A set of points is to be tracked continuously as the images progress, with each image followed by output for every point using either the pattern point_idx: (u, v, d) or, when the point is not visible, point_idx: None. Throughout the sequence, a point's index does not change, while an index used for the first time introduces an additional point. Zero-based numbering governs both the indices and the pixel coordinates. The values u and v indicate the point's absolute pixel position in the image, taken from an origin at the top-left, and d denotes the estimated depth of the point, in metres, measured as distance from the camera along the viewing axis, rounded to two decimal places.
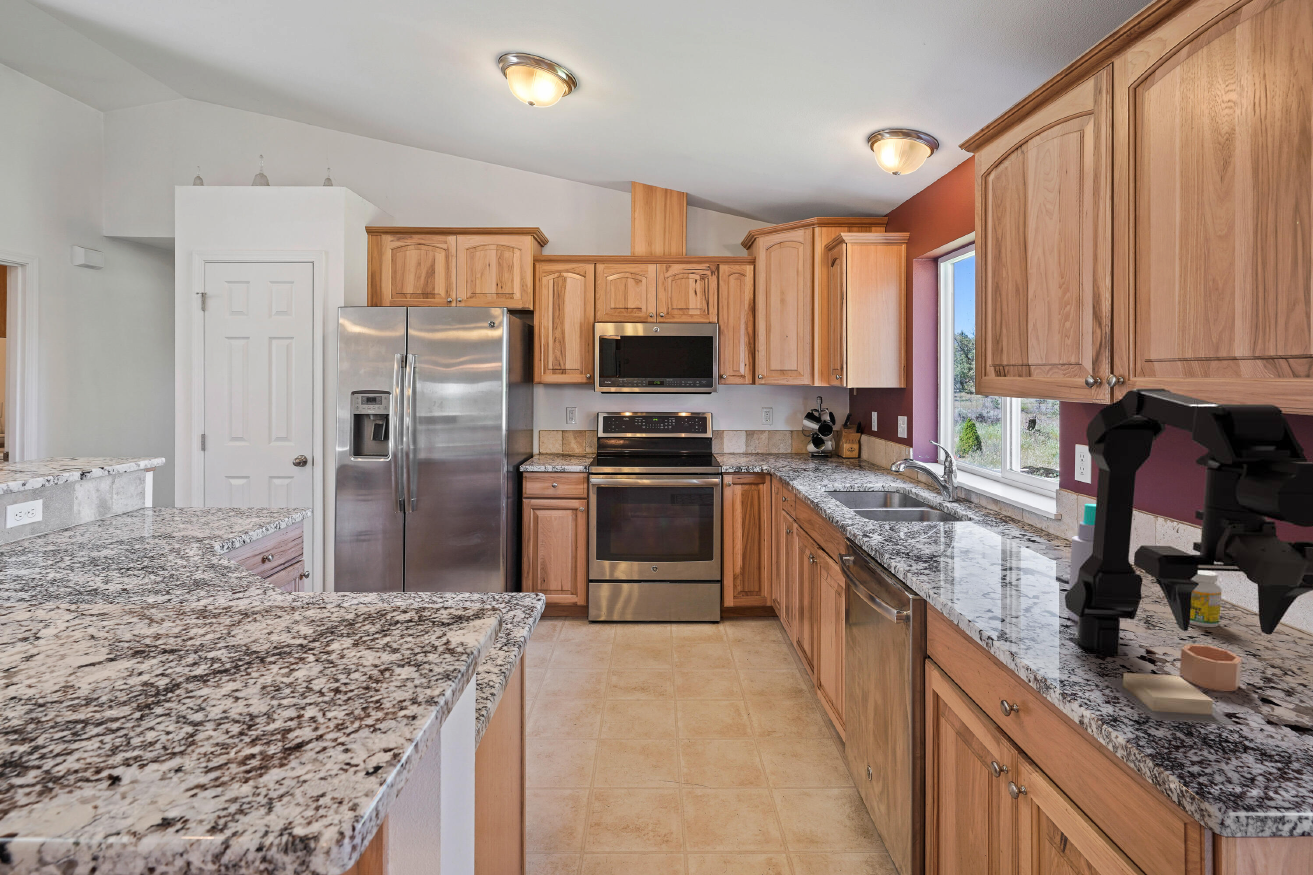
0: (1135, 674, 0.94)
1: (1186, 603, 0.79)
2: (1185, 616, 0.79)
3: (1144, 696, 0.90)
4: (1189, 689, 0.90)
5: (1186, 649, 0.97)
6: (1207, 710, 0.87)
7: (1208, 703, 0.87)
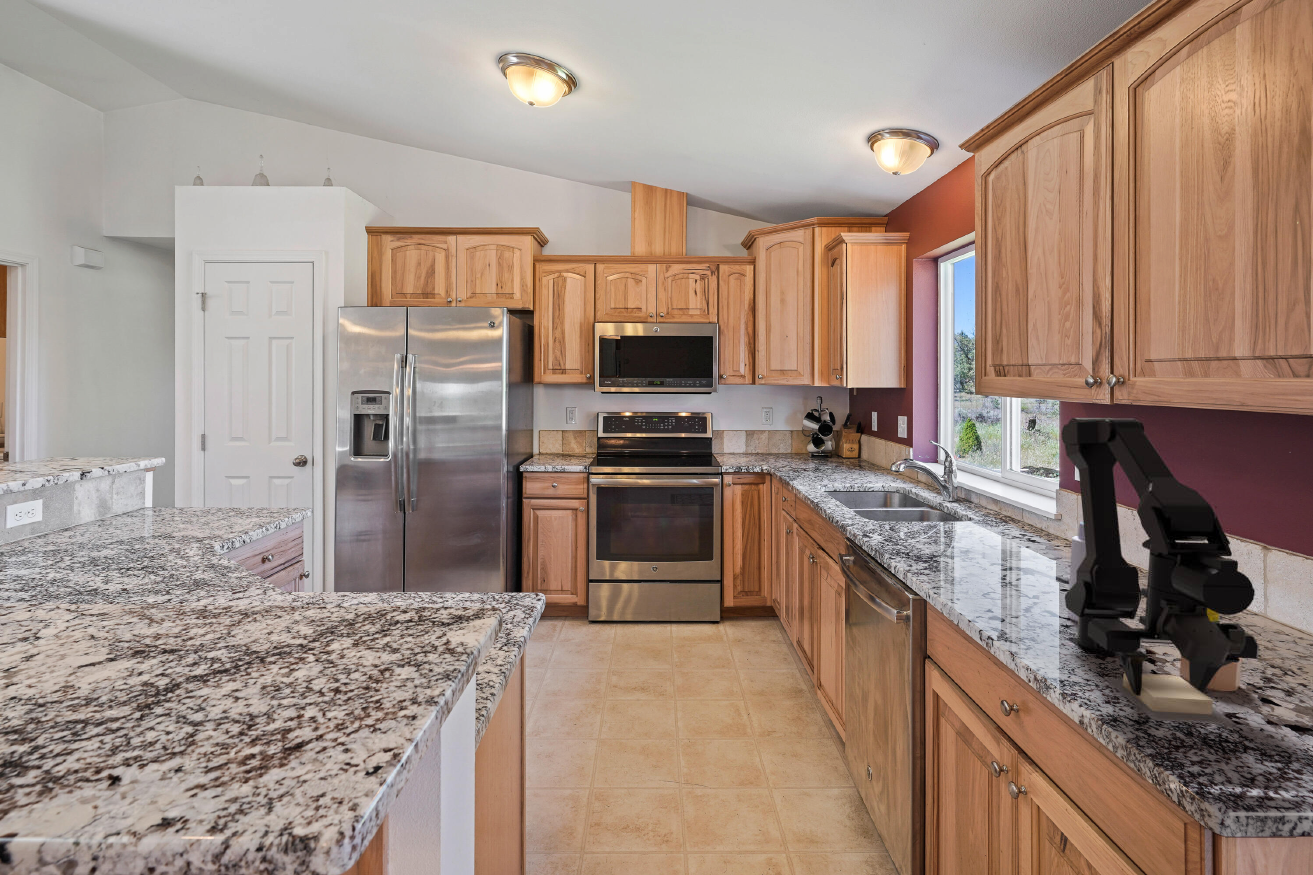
0: None
1: (1138, 672, 0.90)
2: (1137, 683, 0.90)
3: (1144, 696, 0.90)
4: (1189, 689, 0.90)
5: None
6: (1207, 710, 0.87)
7: (1208, 703, 0.87)
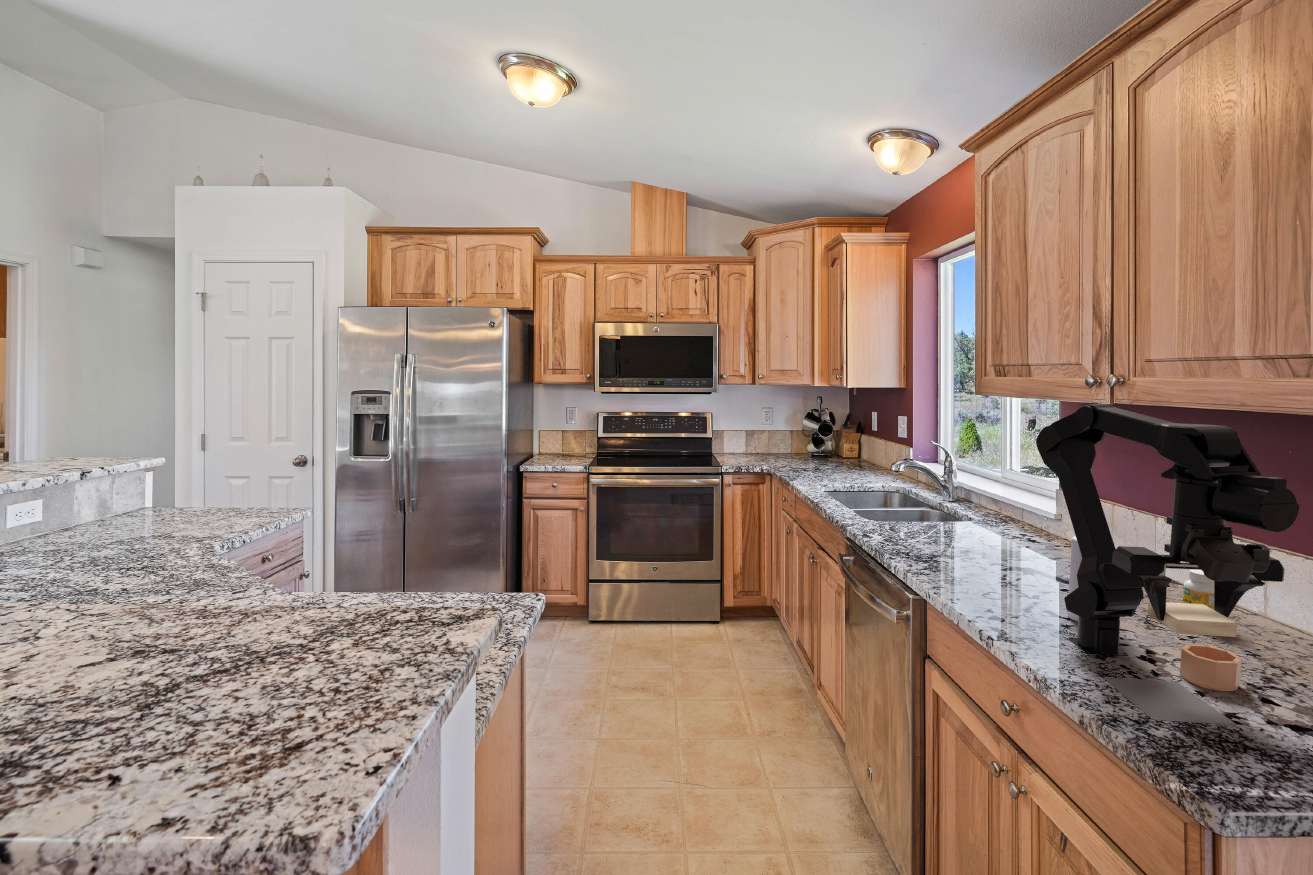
0: None
1: (1162, 596, 0.91)
2: (1161, 608, 0.92)
3: (1168, 620, 0.91)
4: (1213, 614, 0.91)
5: (1186, 649, 0.97)
6: (1231, 633, 0.88)
7: (1232, 626, 0.88)
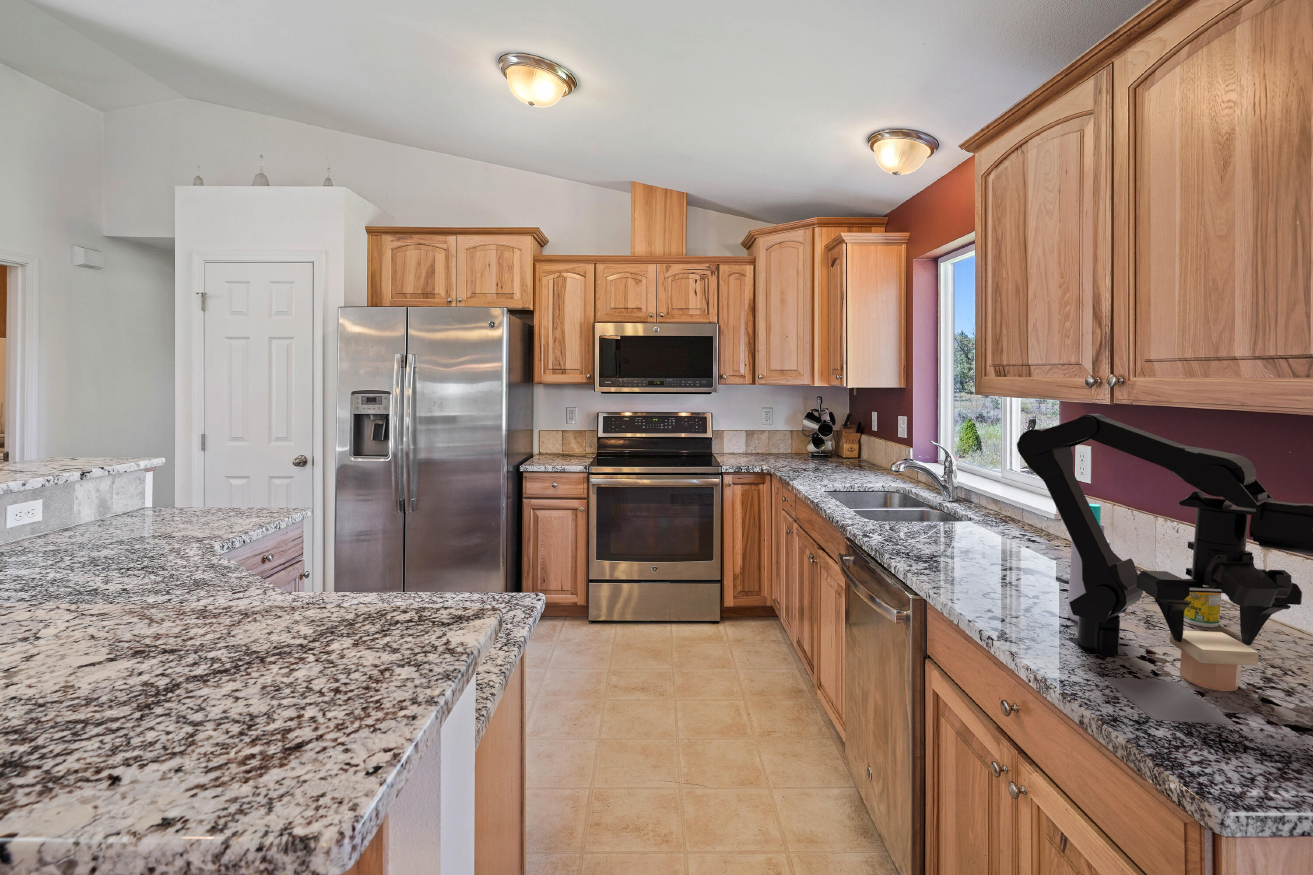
0: None
1: (1180, 619, 0.95)
2: (1179, 630, 0.95)
3: (1192, 650, 0.95)
4: (1234, 643, 0.94)
5: None
6: (1253, 662, 0.92)
7: (1254, 655, 0.92)
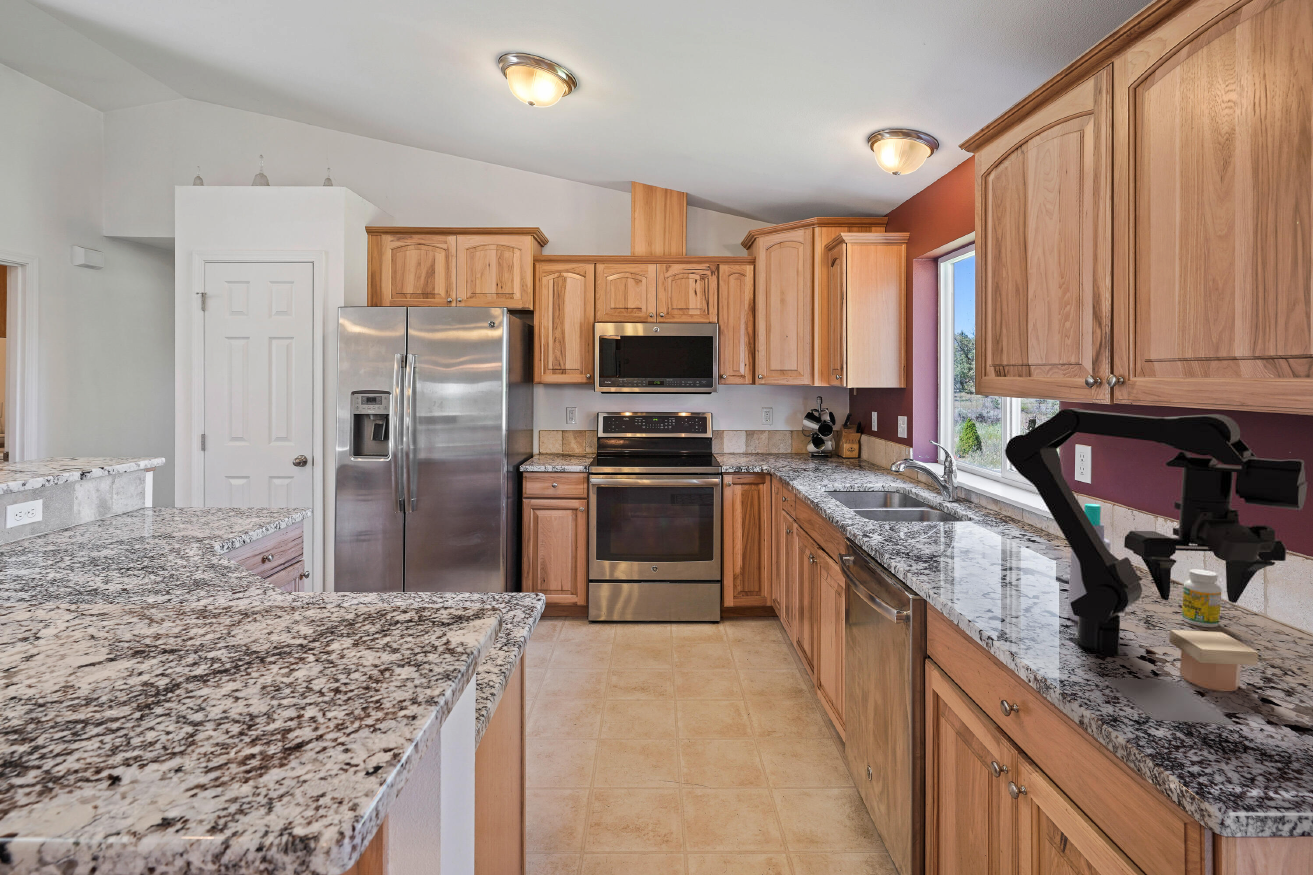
0: (1181, 631, 0.99)
1: (1166, 577, 0.96)
2: (1166, 588, 0.97)
3: (1192, 649, 0.95)
4: (1234, 643, 0.95)
5: None
6: (1253, 661, 0.92)
7: (1254, 655, 0.92)
